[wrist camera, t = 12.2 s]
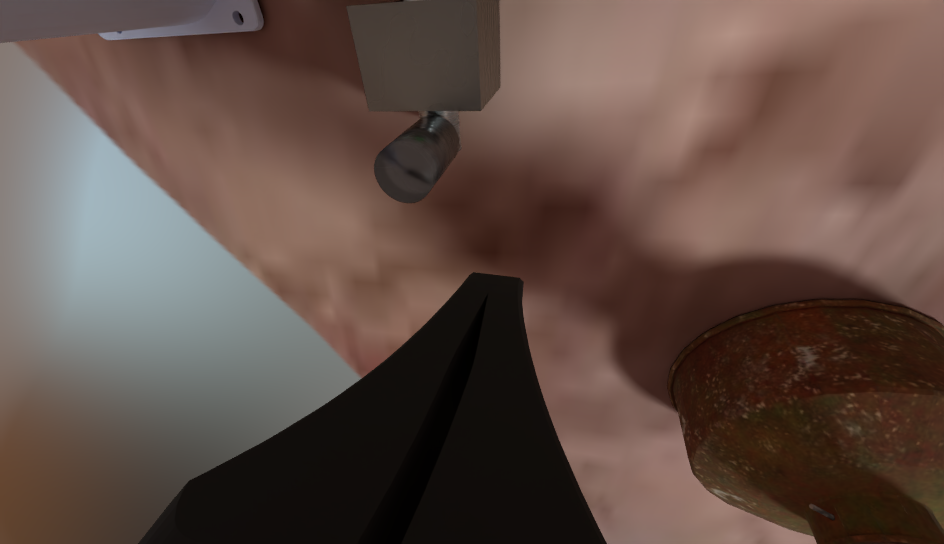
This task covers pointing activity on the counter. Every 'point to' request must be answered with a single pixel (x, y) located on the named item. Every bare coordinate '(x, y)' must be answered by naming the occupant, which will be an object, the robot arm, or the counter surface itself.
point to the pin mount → (428, 54)
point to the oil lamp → (821, 419)
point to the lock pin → (419, 155)
